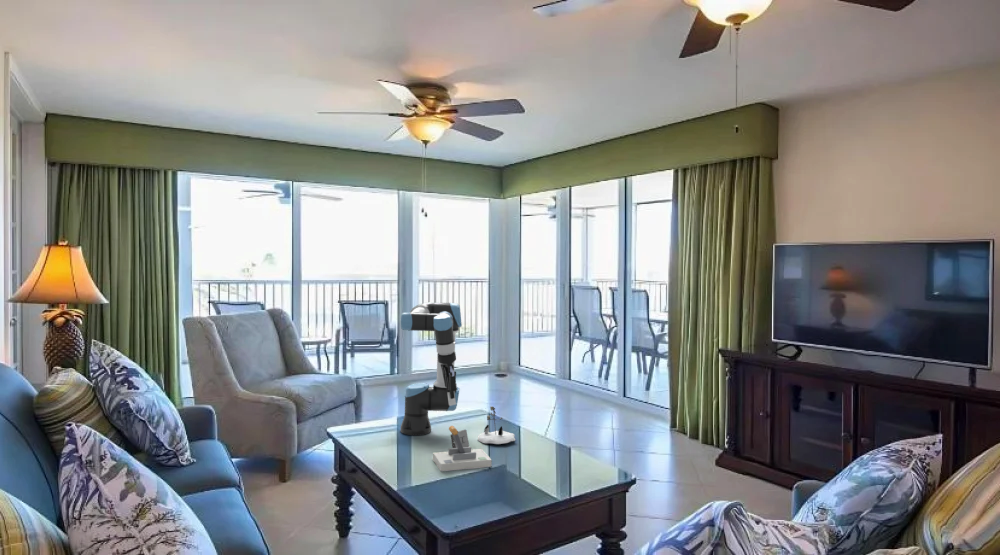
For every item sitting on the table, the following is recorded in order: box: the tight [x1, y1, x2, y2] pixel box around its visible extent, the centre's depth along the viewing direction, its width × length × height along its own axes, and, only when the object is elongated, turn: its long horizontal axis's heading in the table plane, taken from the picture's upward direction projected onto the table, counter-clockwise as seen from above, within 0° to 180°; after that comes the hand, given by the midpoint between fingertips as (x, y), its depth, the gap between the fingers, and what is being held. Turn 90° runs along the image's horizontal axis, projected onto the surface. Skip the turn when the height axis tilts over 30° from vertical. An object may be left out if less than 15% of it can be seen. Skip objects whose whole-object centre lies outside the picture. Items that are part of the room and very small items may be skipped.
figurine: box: [477, 406, 516, 445], centre depth 282 cm, size 20×18×16 cm
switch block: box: [432, 446, 493, 472], centre depth 249 cm, size 14×22×5 cm, turn 110°
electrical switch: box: [450, 429, 470, 448], centre depth 267 cm, size 8×5×8 cm, turn 141°
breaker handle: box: [448, 425, 465, 453], centre depth 248 cm, size 6×2×13 cm, turn 20°
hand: (452, 404), depth 246 cm, fingers closed
